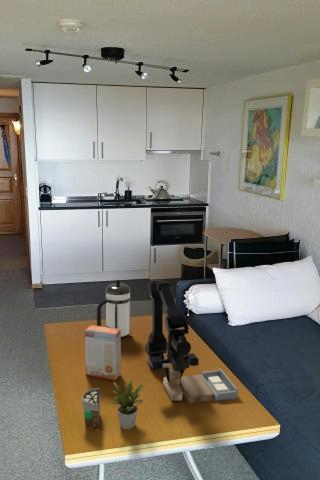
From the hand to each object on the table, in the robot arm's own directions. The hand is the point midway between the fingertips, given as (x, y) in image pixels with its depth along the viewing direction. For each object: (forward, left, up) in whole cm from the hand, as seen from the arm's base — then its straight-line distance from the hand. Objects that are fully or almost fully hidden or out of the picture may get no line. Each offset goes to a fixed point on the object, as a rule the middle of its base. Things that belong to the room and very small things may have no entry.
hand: (173, 381), depth 180 cm
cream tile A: (+19, -3, -5) cm, 20 cm away
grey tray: (+19, 0, -5) cm, 20 cm away
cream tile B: (+19, +3, -5) cm, 20 cm away
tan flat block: (+9, 0, -5) cm, 10 cm away
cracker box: (-25, +21, -6) cm, 33 cm away
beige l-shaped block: (0, 0, -4) cm, 5 cm away
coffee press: (-13, +60, -6) cm, 62 cm away
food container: (-34, -12, -6) cm, 37 cm away
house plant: (-21, -18, -6) cm, 28 cm away
